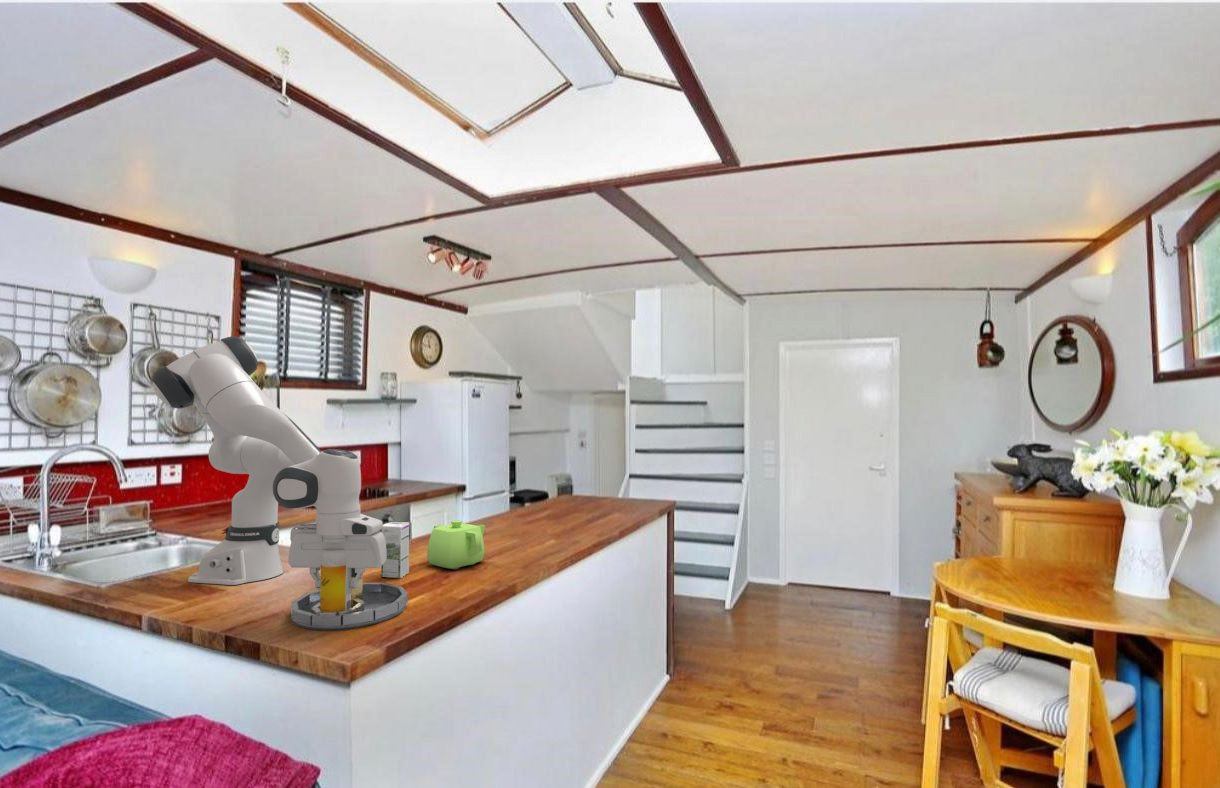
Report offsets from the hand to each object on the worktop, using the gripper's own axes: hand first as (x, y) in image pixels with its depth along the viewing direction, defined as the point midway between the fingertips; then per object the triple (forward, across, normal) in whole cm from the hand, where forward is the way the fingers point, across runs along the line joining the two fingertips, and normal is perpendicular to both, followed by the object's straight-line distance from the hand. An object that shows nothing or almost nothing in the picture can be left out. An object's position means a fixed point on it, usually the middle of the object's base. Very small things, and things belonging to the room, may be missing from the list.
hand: (337, 587), depth 131 cm
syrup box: (+8, 0, +36) cm, 36 cm away
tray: (+7, 0, +7) cm, 10 cm away
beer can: (+6, 0, 0) cm, 7 cm away
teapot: (+8, +15, +50) cm, 53 cm away
